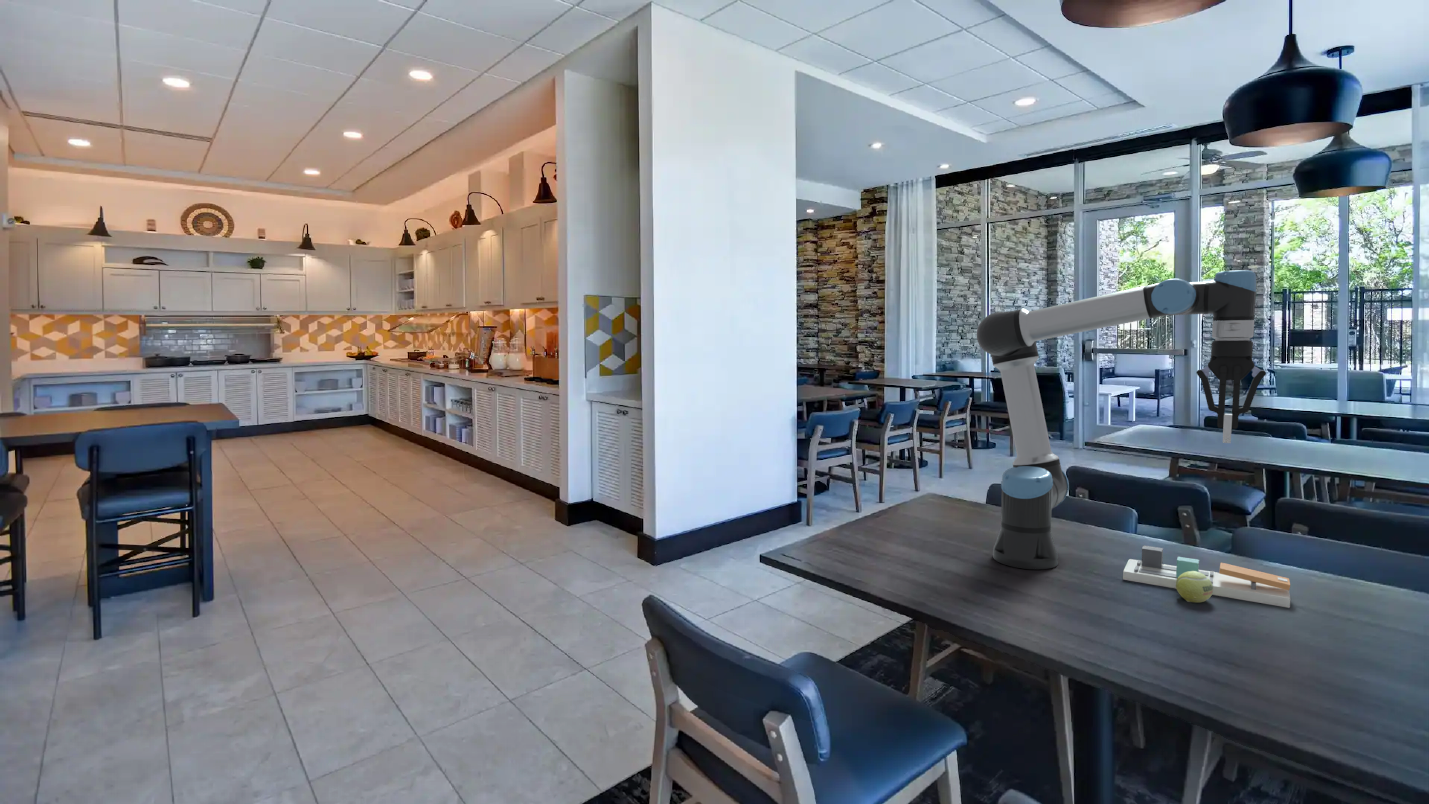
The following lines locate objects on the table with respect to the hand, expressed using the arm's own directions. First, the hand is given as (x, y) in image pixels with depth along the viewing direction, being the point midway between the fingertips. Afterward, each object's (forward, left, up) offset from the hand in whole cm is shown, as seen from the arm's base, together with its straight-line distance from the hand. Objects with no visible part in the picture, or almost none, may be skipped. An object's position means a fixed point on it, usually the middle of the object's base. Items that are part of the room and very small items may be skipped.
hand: (1226, 442), depth 157 cm
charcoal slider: (-13, -6, -30) cm, 33 cm away
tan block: (+6, -9, -28) cm, 30 cm away
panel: (-3, -8, -32) cm, 33 cm away
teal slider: (-6, -11, -30) cm, 32 cm away
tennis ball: (-4, -19, -32) cm, 38 cm away
